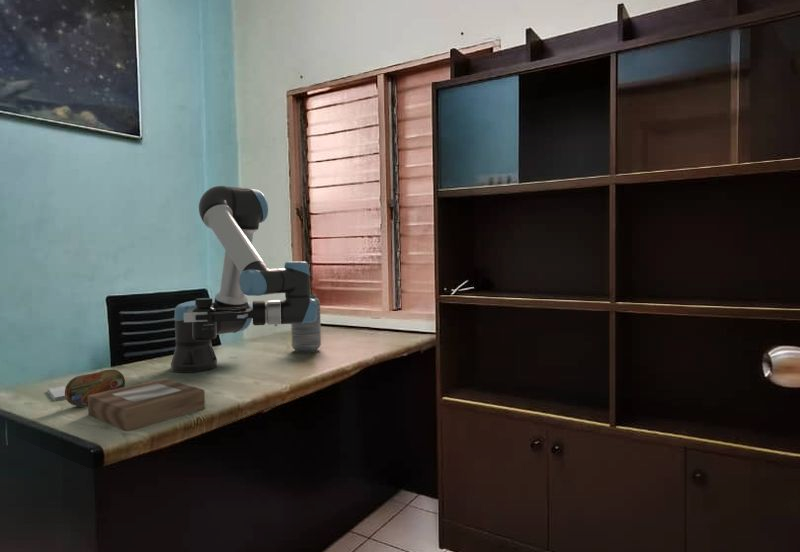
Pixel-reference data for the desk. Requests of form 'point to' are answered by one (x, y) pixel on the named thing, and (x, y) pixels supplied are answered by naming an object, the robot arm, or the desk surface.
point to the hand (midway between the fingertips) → (186, 315)
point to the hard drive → (57, 393)
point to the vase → (307, 333)
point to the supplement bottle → (204, 328)
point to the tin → (92, 386)
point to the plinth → (145, 403)
